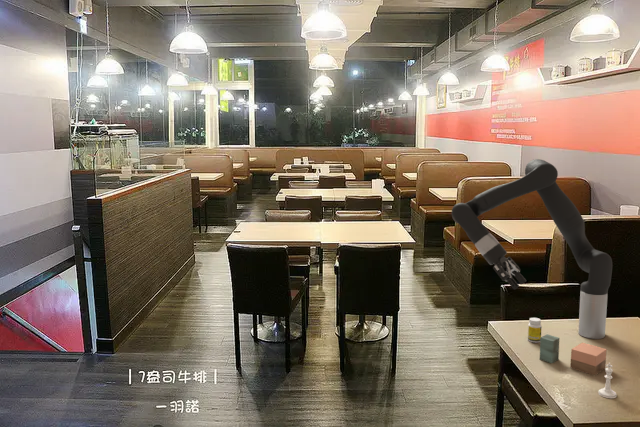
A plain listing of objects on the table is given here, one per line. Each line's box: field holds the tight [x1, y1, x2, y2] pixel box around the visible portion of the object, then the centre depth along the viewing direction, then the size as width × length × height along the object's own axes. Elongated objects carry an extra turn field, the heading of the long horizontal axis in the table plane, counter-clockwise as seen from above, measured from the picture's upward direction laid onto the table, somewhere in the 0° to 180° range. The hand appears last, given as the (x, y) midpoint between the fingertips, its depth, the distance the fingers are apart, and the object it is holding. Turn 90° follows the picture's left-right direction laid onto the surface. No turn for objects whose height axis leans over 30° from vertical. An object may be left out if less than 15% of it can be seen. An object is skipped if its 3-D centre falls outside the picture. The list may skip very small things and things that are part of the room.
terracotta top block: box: [570, 342, 607, 366], centre depth 182 cm, size 8×8×4 cm
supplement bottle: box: [527, 317, 543, 344], centre depth 205 cm, size 5×5×8 cm
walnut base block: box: [570, 358, 607, 377], centre depth 182 cm, size 8×8×4 cm
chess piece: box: [597, 362, 617, 399], centre depth 164 cm, size 5×5×10 cm
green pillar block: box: [539, 334, 560, 364], centre depth 189 cm, size 4×4×8 cm
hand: (520, 285), depth 192 cm, fingers open, 8 cm apart
